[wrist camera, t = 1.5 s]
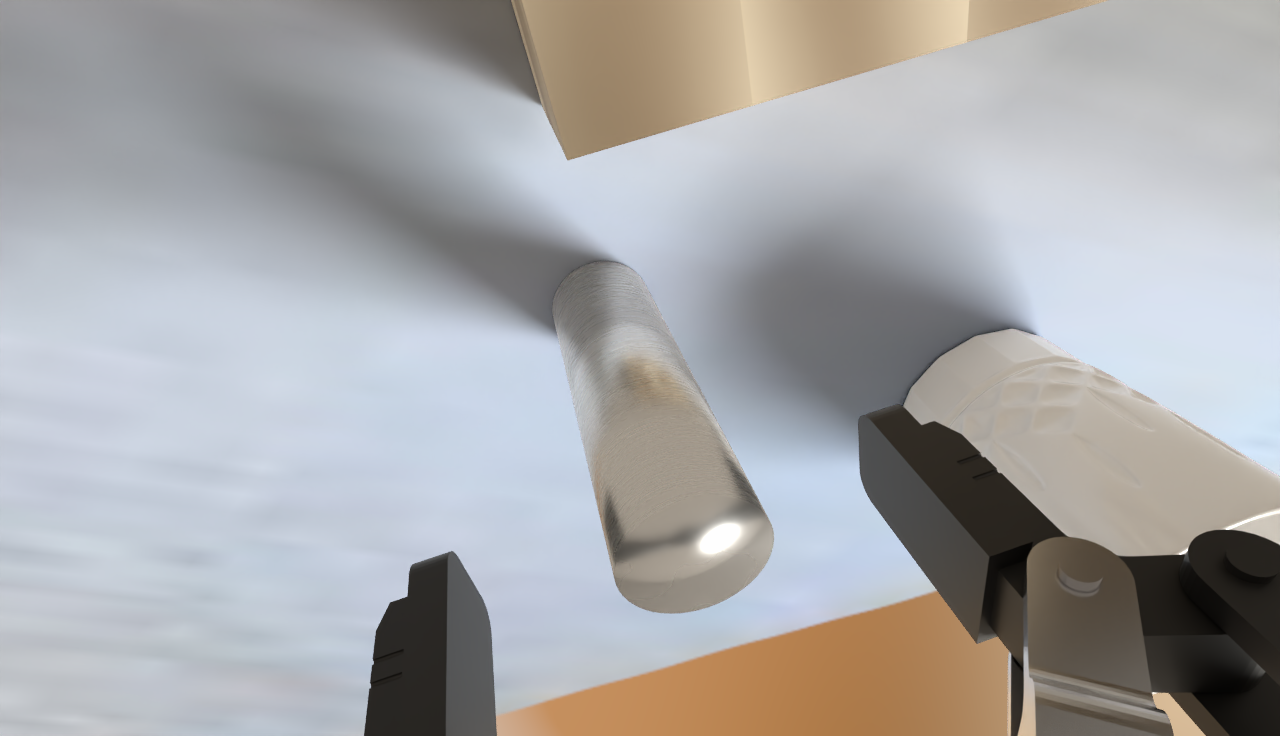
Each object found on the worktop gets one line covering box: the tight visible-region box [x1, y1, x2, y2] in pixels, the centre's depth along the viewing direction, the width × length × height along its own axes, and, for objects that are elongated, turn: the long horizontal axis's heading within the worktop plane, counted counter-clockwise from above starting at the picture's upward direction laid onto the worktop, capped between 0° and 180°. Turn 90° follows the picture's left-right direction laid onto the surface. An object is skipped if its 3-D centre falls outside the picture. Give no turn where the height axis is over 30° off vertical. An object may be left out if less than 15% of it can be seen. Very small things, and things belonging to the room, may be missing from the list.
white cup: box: [903, 329, 1280, 694], centre depth 22 cm, size 8×8×10 cm
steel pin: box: [552, 261, 774, 613], centre depth 16 cm, size 3×3×10 cm
